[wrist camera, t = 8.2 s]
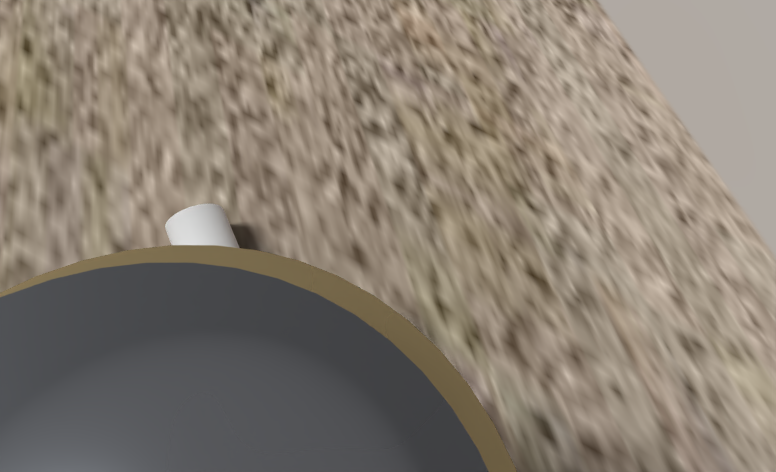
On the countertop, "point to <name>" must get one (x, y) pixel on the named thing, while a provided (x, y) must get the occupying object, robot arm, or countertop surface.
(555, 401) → the countertop surface
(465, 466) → the metal canister
